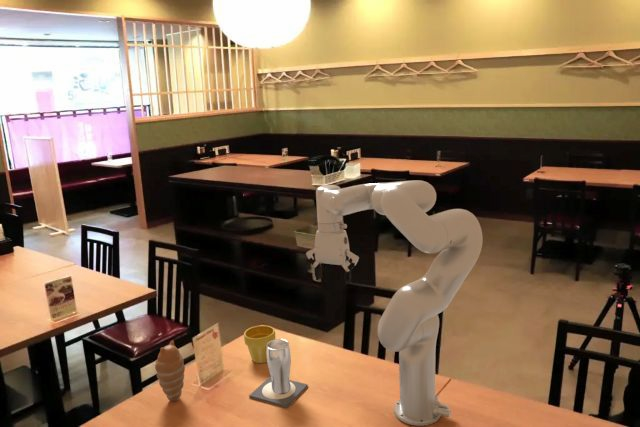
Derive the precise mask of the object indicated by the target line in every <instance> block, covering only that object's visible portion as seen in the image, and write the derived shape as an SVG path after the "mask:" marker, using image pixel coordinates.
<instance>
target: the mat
mask: <svg viewBox="0 0 640 427" xmlns="http://www.w3.org/2000/svg"><path fill="white" fill-rule="evenodd" d="M271 385H272V380H271V375H270V376H269V377H268V378H267V379H266V380H265V381H263V382H262V383H261V384H260V385H259V386H258V387H257V388H256V389H254V390H253V392H251V393H250V394H249V396H248V397H249V399H253V400H256V401H257V400H258V401H260V402H262V403H267V404H269V405H270V404H271V405H275V406H278V407H282V408H285V409H288V408H289V407H290V406H291V404H293V403H294V402H295V401H296V400H297V399H298V397H300V395H301V394H302V393H303V392H304V391H306V390H307V388H308V387H309V384H307V383H303V382H300V381H295V380H293V379H290V385H291V392H290V393H288V394H287V395H283V396H276V395H274V394H272V393H271Z"/></svg>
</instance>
